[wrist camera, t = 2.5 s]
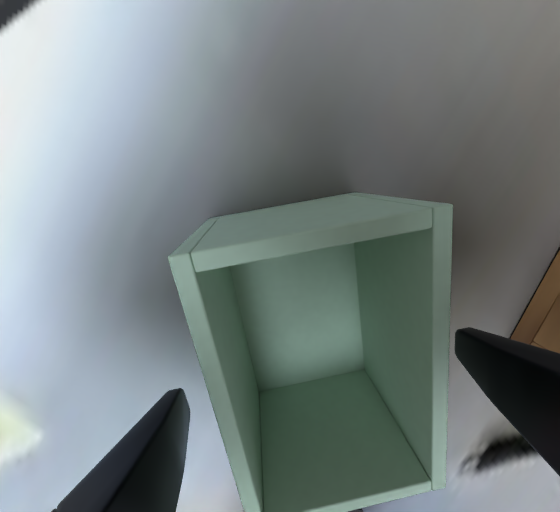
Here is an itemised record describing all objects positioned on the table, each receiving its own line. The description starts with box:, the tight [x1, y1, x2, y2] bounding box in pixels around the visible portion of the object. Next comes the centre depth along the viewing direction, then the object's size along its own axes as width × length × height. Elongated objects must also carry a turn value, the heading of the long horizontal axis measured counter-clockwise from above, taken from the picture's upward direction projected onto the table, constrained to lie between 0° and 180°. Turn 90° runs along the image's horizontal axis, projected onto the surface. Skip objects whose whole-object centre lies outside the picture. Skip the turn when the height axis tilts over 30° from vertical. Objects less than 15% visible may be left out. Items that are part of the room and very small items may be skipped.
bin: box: [168, 192, 453, 512], centre depth 10 cm, size 10×7×6 cm
